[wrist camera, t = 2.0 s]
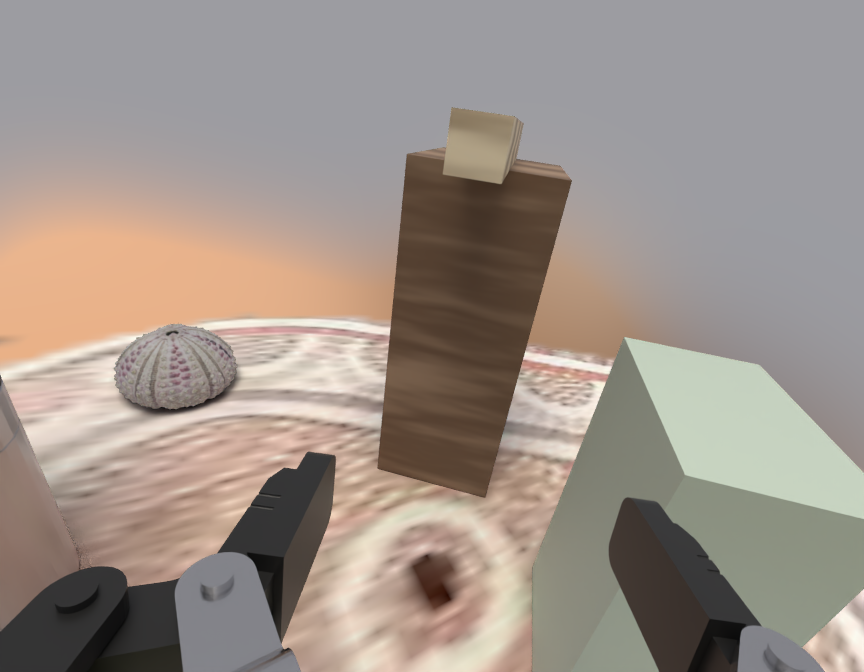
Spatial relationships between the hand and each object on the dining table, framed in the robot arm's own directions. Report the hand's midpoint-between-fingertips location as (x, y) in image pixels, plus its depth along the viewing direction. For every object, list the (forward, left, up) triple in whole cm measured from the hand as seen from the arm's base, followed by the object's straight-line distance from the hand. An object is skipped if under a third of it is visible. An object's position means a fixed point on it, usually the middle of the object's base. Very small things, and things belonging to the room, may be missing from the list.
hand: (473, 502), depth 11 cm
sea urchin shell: (-45, +14, -26) cm, 54 cm away
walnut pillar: (-14, +28, -26) cm, 40 cm away
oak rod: (-12, +24, +6) cm, 27 cm away
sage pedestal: (+7, +15, -26) cm, 30 cm away
